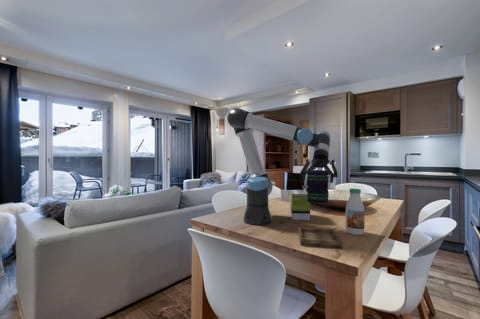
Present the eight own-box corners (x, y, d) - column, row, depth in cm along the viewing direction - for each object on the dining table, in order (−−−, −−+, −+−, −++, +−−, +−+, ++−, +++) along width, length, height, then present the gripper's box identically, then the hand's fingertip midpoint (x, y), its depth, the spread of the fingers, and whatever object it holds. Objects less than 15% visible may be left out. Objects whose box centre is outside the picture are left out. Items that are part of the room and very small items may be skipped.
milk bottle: (341, 231, 105) (342, 188, 105) (353, 229, 108) (353, 187, 108) (356, 236, 98) (356, 190, 98) (368, 234, 101) (368, 189, 101)
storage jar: (302, 200, 110) (302, 170, 109) (315, 198, 115) (315, 169, 115) (320, 204, 101) (320, 171, 101) (332, 202, 107) (333, 170, 107)
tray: (300, 245, 88) (300, 238, 88) (298, 232, 103) (298, 227, 103) (341, 248, 85) (341, 241, 85) (333, 235, 100) (333, 229, 100)
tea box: (289, 213, 139) (289, 189, 139) (306, 214, 138) (306, 189, 138) (291, 219, 124) (292, 193, 124) (310, 220, 123) (310, 193, 123)
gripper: (344, 159, 117) (343, 193, 103) (300, 158, 127) (294, 190, 113) (344, 148, 112) (343, 183, 98) (298, 148, 122) (291, 180, 108)
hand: (316, 186), depth 105 cm, fingers closed on storage jar, 10 cm apart
